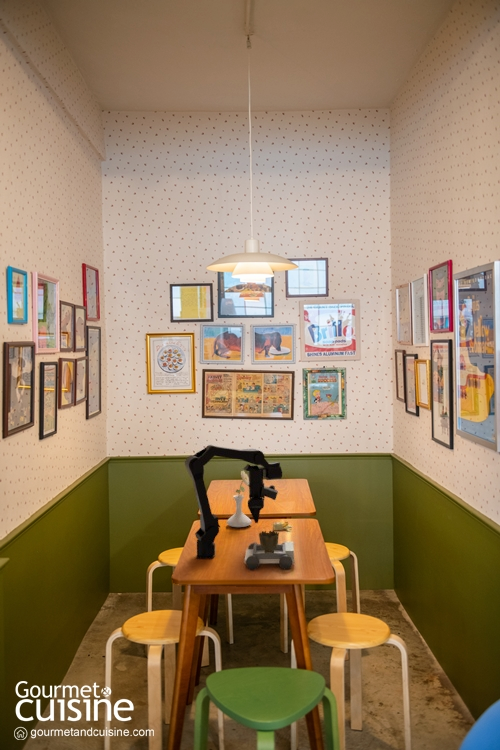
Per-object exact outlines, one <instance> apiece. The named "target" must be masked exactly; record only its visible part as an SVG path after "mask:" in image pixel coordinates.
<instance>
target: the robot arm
mask: <svg viewBox="0 0 500 750" xmlns="http://www.w3.org/2000/svg"><path fill="white" fill-rule="evenodd" d="M214 457H218V458H227V459H234V460H240V461H244V462H246V463H247V464H246V466H244V467H243V471H246V472H248V477H249V486H248V498H249V499H248V500H247V507H248V510H249V512H250V515H251V516H252V519H253V521H254V523H255V524H258V523H259V518H260V515H261V514H260V513H261V510H262V509H264V507H265V498H269V499H271V500H273V501H276V499H277V497H278V493H279V492H278V490H277V489H276V486H275V485H272V484H271V485H270V486H265V483H264V479H265V480H266V481H270V480H271V481H272V480H280V479H282V477H283V471H282V467H281V462H279V461H274V462H268V461H267V460H266V458H265V454H264V452H263V451H261V450H259V449H256V448H245V449H244V448H243V449H237V448H230V447H223V446H218V445H217V446H216V445H212V444H208V445H207V446H206V447H204V448H203V449H201V450H199V451H197V452H196V453H194V454H193V455H189V456H188V457H186V459H185V460H184V465H185V468H186V470H187V472H188V475H189V477H190V478H191V481H192V483H193V487H194V492H195V496H196V500H197V504H198V510H199V512H200V516H199V517H200V519H199V523H200V525H199V526H200V527H199V528H198V529H197V531H196V532H195V534H194V535H195V538H196V539H197V540H196V557H195V558H196V559H214V556H215V555H216V543H214V542H215V540H216V537H217V536H218V534H219V533H220V528H221V525H220V524H219V523H220V522H219V517H218V516H217V515H216V514H214V513H212V509H211V504H210V500H209V498H208V497H209V496H208V492H207V489H206V484H205V480H204V474H205V468H204V466H206V465H207V464H208V463H209V462H210V461H211V459H212V458H214ZM249 463H250V464H249ZM252 464H253V465H252ZM259 466H260V467H259Z"/></svg>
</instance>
